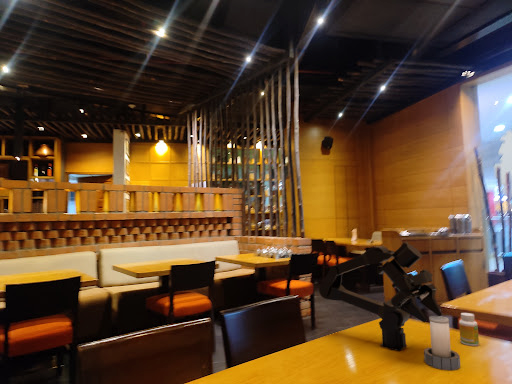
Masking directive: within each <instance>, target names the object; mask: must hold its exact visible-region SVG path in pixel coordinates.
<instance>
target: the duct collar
mask: <svg viewBox="0 0 512 384" xmlns="http://www.w3.org/2000/svg"><path fill="white" fill-rule="evenodd" d="M460 356H461V355H460V354H459V353H458V352H457V351H454V350H452V349H451V358H444V357H438V356H434V355H432V348H431V347H426V348H425V349H423V357H424V358H423V359H424V362H425V364H426V365H428V366H430V367H431V368H435V369H439V370H443V371H455V370H456V371H457V370H459V369H460V367H461V358H460Z"/></svg>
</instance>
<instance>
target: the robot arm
mask: <svg viewBox="0 0 512 384" xmlns="http://www.w3.org/2000/svg"><path fill="white" fill-rule="evenodd" d="M421 258H423V255H422V253H421V252H420V250H418V249H417V248H415V247H414V246H412V244H409V243H408V242H407V241H405V242H403V243H402V244H401V245H400V246H399V247H398V249H396V250H395V251H394V250H391V249H389V248H387V247H386V246H383V245H379V246H373V247H370V248H369V249H368V250H366V251H364V252H363V253H362V254H360V255H359V256H356V257H354V258H350V259H348V260H346V261H343V262H341V263H338V264H335V265H334V264H333V265H331V266H330V267H329V270H328V272H327V273H326V275H325V277H324V278H323V280H322V283H321V284H320V285H319V294H320V296H321V298H323V299H325V300H331V301H339V302H340V301H341V302H344V303H346V304H349V305H352V306H354V307H356V308H359V309H361V310H364V311H367V312H370V313H372V314H374V315H377V316H378V317H379V318H380V319H381V320H380V321H379V322H378V325H379V329H380V330H381V341H382V343H381V344H380V347H382V348H386V349H389V350H390V349H391V350H394V351H398V352H400V351H401V350H403V349H404V348H406V347H407V343H406V342H407V341H406V337H407V336H406V333H405V331H404V330H405V329H404V326H405V324H406V322H408V321H409V320H410V317H411V316H412V317H414V318H416V319H417V320H420V321H421V322H422V323H426V322H427V321H428V319H427V317H426V316H425V314H424V313H423V312H422V310H421V309H420V307H419V306H418V304H417V302H416V299H417V300H419V303H421V304H422V305H423V306H425V308H427V309H429V311H431V312H432V313H434V314H435V316H442V315H443V313H442V311H441V309H440V307H439V305H438V303H437V300H436V293H437V287H436V286H435V285H434V284H433V283H431V282H434V281H433V273H431V272H430V271H428V270H427V269H422V270H419V273H417V274H413V273H410V272H409V273H407V271H406V270H405V269H404V268H407V269H410V268H411V267H412V266H413V265H415V264H416V263H417V262H418V261H419V260H420V259H421ZM389 260H390V261H389ZM382 263H384V264H382ZM377 264H382V265H378V266H377V271H376V273H377V275H383V274H385V275H386V276H387V278H388V279H389V280H390V281H391V283H392V284H391V286H392V288H393V289H397V290H398V292H397V293H395V295H394V296H392V297H391V298H390V299H389V300H386V301H384V302H382V301H379V300H377V299H376V300H375V299H373V298H369V297H367V296H365V295H361V294H359V293H357V292H354V291H351V290H348V289H347V288H346V287H344V285H342V282H343V274H344V273H348V272H350V271H354V270H356V269H359V268H361V267H364V266H369V265H370V266H371V265H377Z"/></svg>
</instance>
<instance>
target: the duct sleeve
mask: <svg viewBox="0 0 512 384" xmlns="http://www.w3.org/2000/svg"><path fill="white" fill-rule="evenodd" d="M428 319H429V326H430V327H429V328H430V329H429V331H430V345H431V348H432V355H434V356H438V357H444V358H451V350H452V349H451V335H450V319H449V318H448V317H445V316H442V315H441V316H438V315H430V316H429V317H428Z"/></svg>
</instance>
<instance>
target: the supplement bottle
mask: <svg viewBox="0 0 512 384" xmlns="http://www.w3.org/2000/svg"><path fill="white" fill-rule="evenodd" d="M458 324H459V340H460V343H461V344H463V345H466V346H469V347H470V346H473V347H475V346H476V347H477V346H479V344H480V341H479V340H480V339H479V329H478V328H479V327H478V322H477V321H476V320H475V314H474V313H469V312H461V313H460V319H459V321H458Z"/></svg>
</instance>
